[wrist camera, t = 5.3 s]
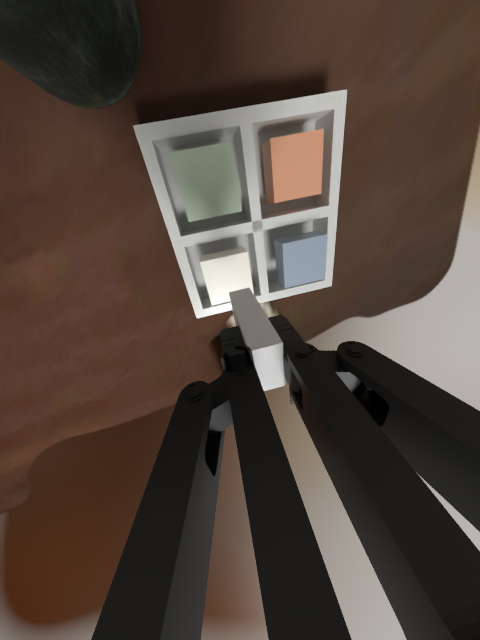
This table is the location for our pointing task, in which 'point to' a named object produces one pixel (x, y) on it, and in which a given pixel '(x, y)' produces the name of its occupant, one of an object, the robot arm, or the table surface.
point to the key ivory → (226, 273)
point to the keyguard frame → (247, 190)
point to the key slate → (301, 258)
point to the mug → (74, 46)
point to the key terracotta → (293, 166)
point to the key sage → (207, 180)
